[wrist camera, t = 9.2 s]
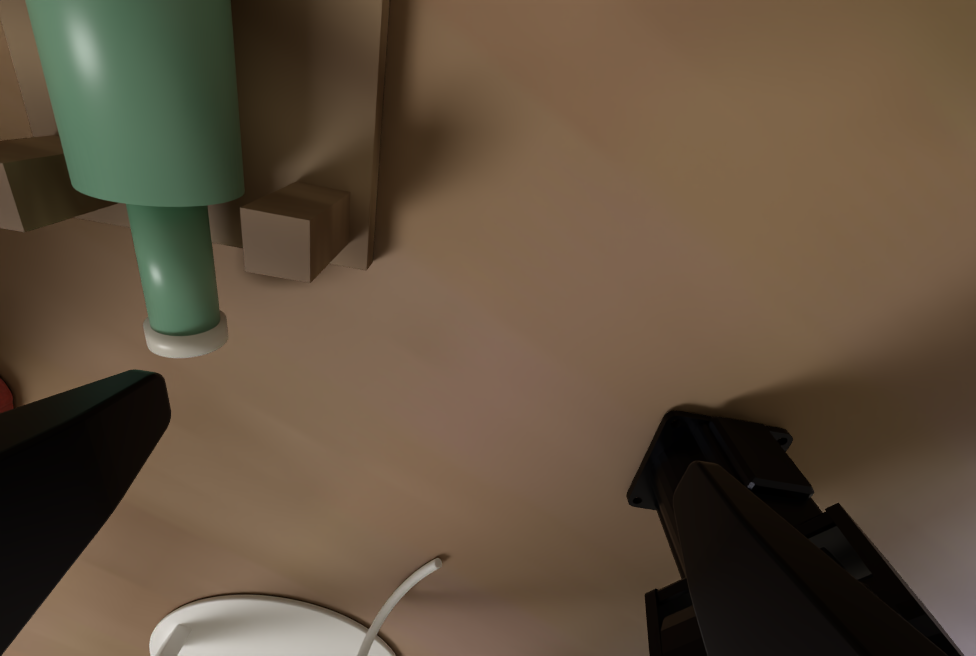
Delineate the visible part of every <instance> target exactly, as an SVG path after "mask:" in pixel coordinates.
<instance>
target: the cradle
mask: <svg viewBox="0 0 976 656" xmlns="http://www.w3.org/2000/svg"><path fill="white" fill-rule="evenodd" d="M389 5H390V0H231V12H232V25H233V39H234V52H235V66H236V79H237V93H238V107H239V120H240V134H241V147H242V161H243V174H244V188H245V192H244V194H243V195H242V196H241V197H240V198H237V199H235V200H232V201H229V202H225V203H220V204H214V205H208V214H209V223H210V232H211V240H212V243H217V244H222V245H228V246H233V247H239V248H243V254H244V266H245V272H250V273H256V274H262V275H267V276H273V277H278V278H284V279H290V280H295V281H301V282H307V283H311V282H312V281H313V280H314V279H315V278H316V277H317V275H318V274H319V273H320V272H321V271H322V270H323V269H324V268H325V267H326V266H327V265H328V264H333V265H338V266H344V267H349V268H355V269H360V270H367V269H368V268H369V266H370V265H371V264H372V262H373V249H374V234H375V219H376V204H377V188H378V173H379V158H380V142H381V127H382V112H383V96H384V81H385V66H386V50H387V35H388V20H389ZM0 19H1V23H2V26H3V30H4V33H5V37H6V41H7V44H8V48H9V51H10V55H11V59H12V62H13V66H14V69H15V73H16V77H17V80H18V84H19V87H20V91H21V94H22V98H23V102H24V105H25V109H26V112H27V116H28V120H29V123H30V127H31V130H32V134H33V137H32V138H23V139H14V140H4V141H0V228H3V229H9V230H14V231H20V232H27V231H30V230H34V229H37V228H40V227H44V226H47V225H50V224H53V223H57V222H60V221H63V220H66V219H70V218H79V219H84V220H90V221H95V222H101V223H106V224H112V225H117V226H123V227H128V228H131V227H130V222H129V217H128V212H127V207H126V204H125V203H118V202H112V201H107V200H102V199H98V198H95V197H91V196H88V195H85V194H83V193H81V192H79V191H77V190H76V189H75V188H73V186H72V184H71V180H70V176H69V172H68V168H67V164H66V160H65V156H64V152H63V148H62V144H61V140H60V136H59V132H58V128H57V124H56V121H55V117H54V113H53V109H52V105H51V101H50V97H49V93H48V89H47V85H46V81H45V77H44V73H43V69H42V65H41V61H40V57H39V53H38V49H37V45H36V41H35V37H34V34H33V30H32V26H31V22H30V18H29V14H28V10H27V6H26V2H25V0H0Z"/></svg>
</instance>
